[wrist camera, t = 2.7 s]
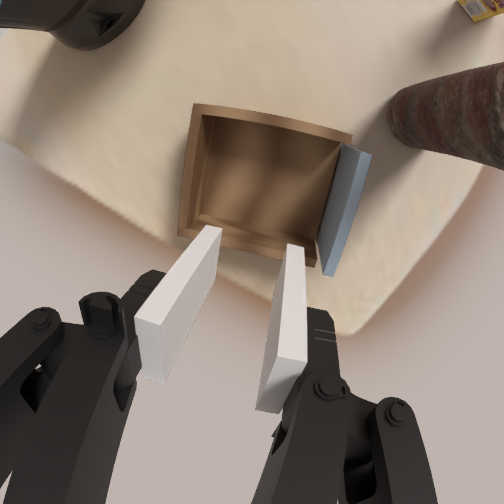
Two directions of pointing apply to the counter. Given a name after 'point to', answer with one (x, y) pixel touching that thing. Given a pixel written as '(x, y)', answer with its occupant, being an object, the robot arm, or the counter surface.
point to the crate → (257, 179)
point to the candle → (454, 115)
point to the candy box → (482, 8)
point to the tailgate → (341, 206)
